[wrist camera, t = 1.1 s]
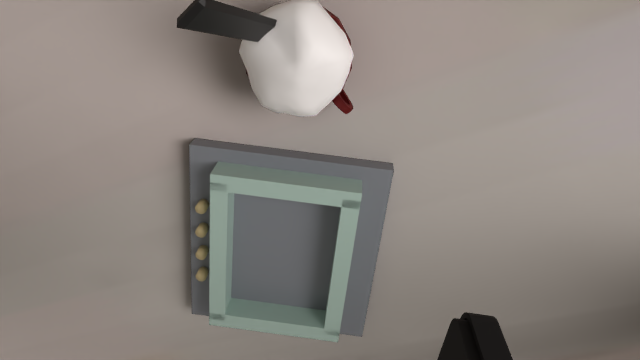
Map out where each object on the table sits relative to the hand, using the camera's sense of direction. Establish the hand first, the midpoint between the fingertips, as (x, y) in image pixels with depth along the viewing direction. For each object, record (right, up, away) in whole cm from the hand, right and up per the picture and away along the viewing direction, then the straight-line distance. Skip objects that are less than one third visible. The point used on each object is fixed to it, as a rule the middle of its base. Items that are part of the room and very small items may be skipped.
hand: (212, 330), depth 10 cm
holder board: (0, -2, +28) cm, 28 cm away
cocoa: (+1, +12, +22) cm, 25 cm away
